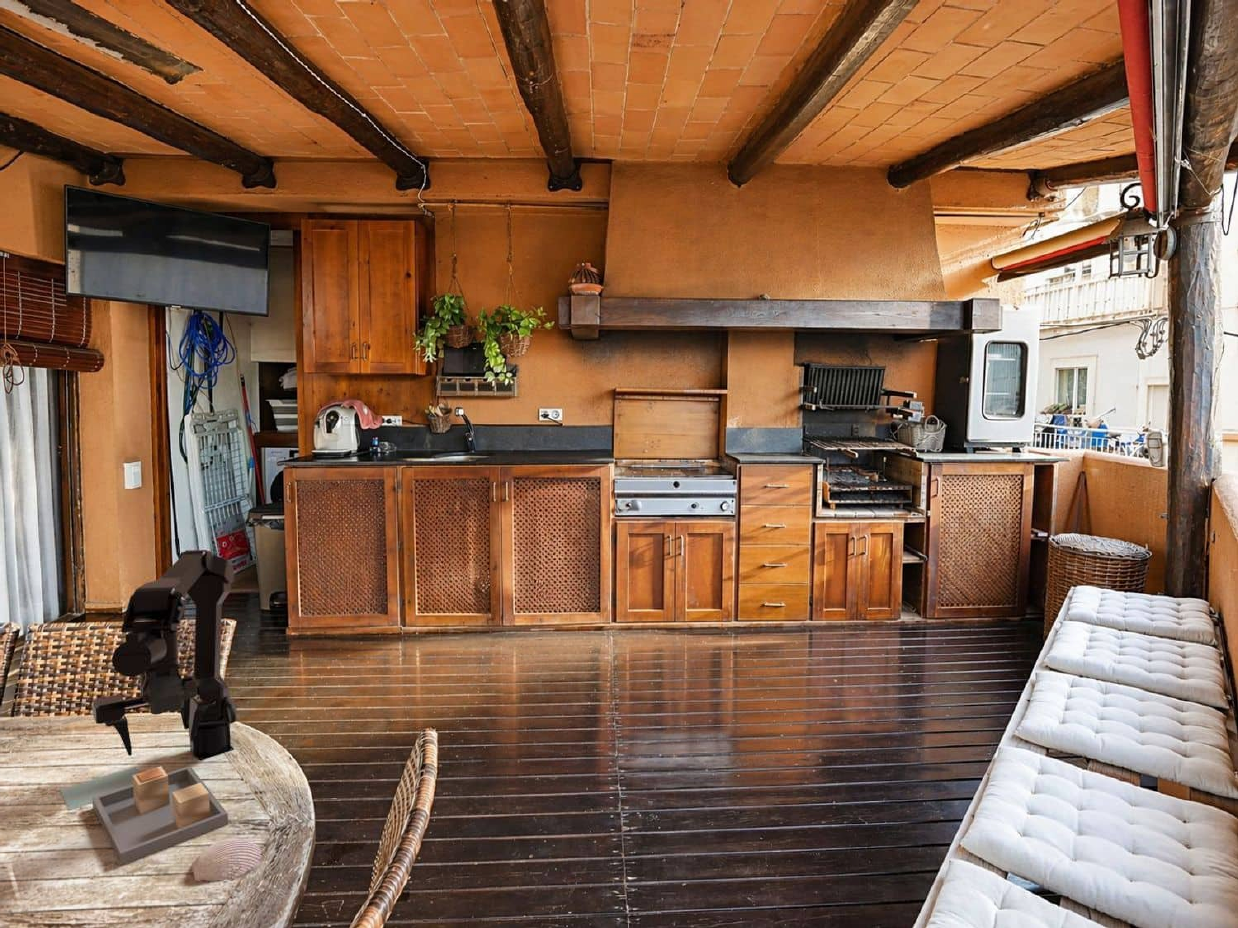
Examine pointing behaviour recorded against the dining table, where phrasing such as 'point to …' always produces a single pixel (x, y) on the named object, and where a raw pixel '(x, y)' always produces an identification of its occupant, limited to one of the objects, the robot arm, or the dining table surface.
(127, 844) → the parts bin
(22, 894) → the dining table surface
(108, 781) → the mat
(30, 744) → the dining table surface
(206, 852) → the seashell
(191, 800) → the plain block
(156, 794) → the labelled block
